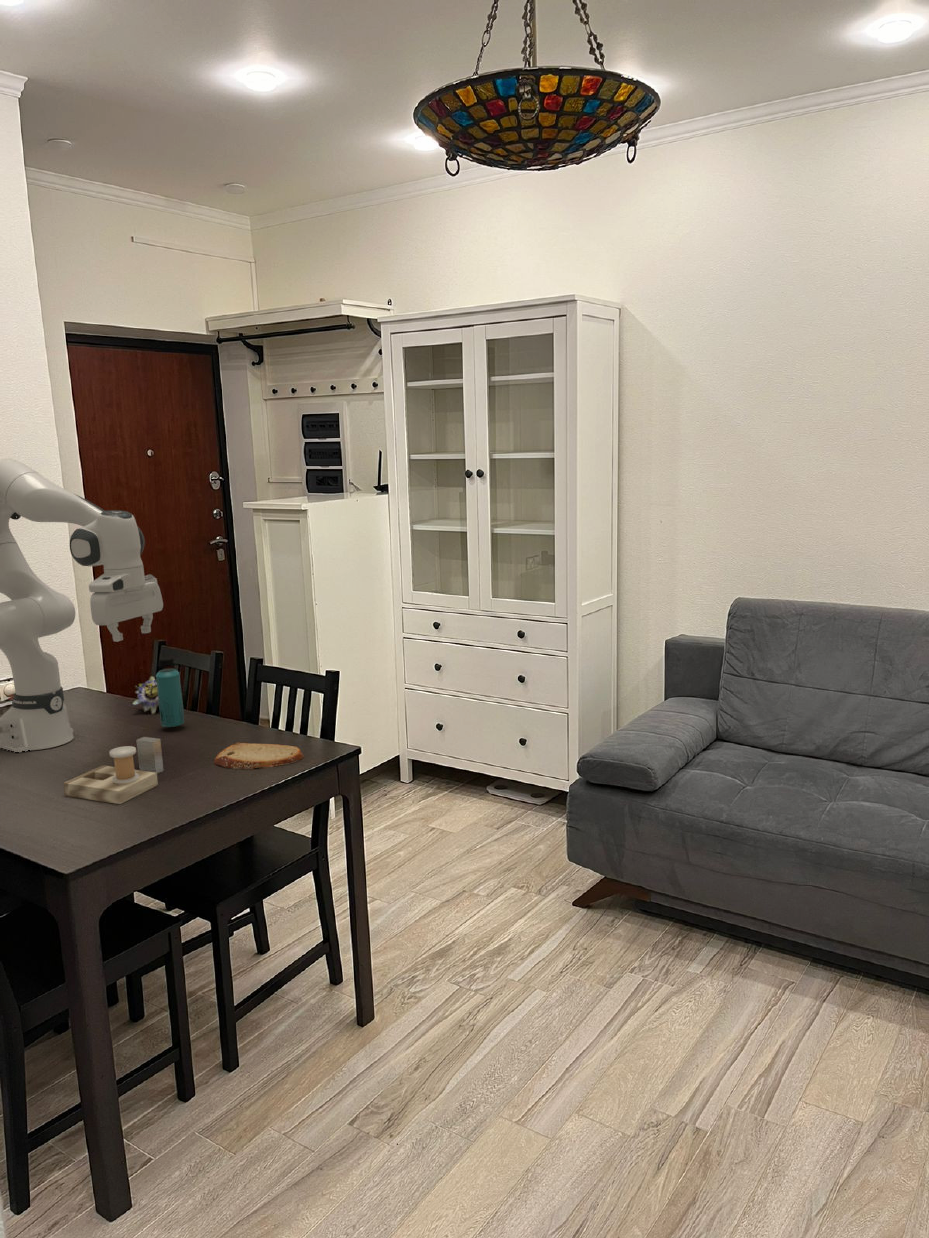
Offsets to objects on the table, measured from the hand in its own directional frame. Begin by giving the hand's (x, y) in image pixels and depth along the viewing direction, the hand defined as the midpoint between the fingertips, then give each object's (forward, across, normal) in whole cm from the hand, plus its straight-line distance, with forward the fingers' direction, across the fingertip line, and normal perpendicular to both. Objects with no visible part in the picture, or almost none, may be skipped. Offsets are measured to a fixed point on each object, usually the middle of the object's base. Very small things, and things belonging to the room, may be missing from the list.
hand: (132, 636), depth 225 cm
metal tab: (+32, +4, +4) cm, 32 cm away
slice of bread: (+33, -11, +24) cm, 43 cm away
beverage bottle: (+32, -25, -14) cm, 43 cm away
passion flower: (+31, -39, -32) cm, 59 cm away
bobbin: (+29, +17, +9) cm, 35 cm away
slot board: (+32, +17, +4) cm, 36 cm away
